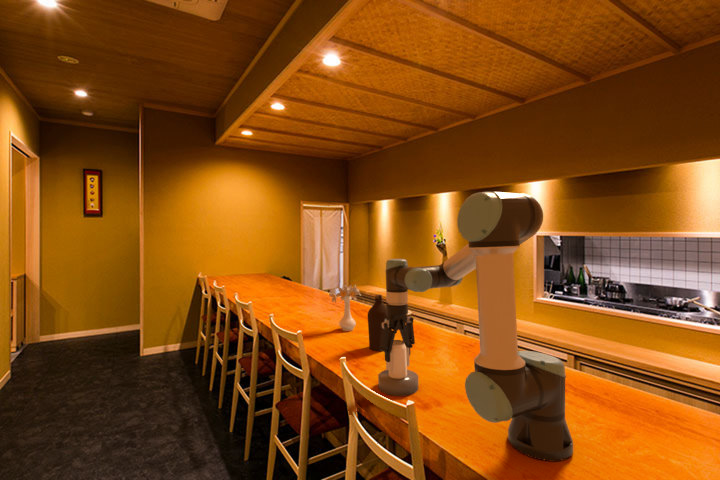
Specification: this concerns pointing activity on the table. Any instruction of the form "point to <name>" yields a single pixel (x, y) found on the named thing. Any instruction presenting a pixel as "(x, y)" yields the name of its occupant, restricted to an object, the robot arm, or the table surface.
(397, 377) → the can
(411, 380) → the stand
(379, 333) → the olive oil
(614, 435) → the table surface
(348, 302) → the flower vase
